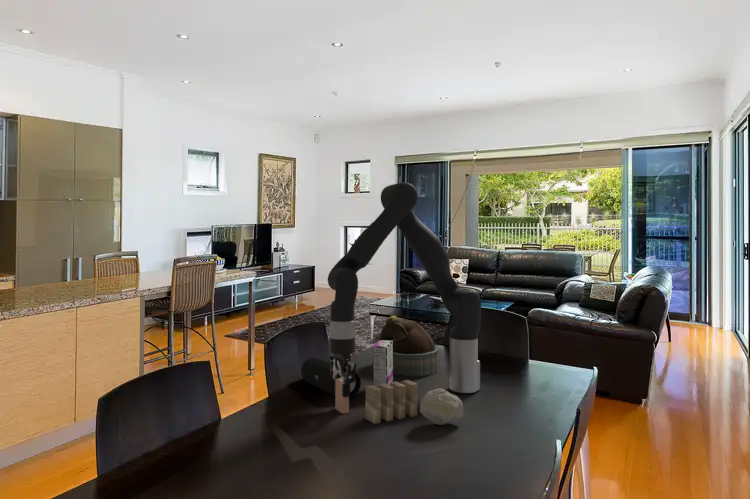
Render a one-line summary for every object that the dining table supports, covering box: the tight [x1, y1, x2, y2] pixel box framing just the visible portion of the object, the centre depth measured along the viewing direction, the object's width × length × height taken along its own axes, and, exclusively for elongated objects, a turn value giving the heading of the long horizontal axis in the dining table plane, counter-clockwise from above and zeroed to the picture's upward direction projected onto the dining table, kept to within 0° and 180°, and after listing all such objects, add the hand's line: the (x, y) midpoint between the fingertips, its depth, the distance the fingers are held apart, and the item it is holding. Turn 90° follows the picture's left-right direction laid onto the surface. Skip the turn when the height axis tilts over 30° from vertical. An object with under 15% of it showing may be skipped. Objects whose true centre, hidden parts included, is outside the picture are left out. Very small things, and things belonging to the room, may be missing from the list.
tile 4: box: [364, 384, 382, 425], centre depth 134 cm, size 2×5×9 cm, turn 29°
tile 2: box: [390, 381, 406, 420], centre depth 138 cm, size 2×5×9 cm, turn 29°
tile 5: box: [334, 378, 350, 415], centre depth 143 cm, size 2×5×9 cm, turn 29°
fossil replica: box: [419, 388, 465, 426], centre depth 130 cm, size 12×8×10 cm
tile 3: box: [378, 383, 394, 422], centre depth 136 cm, size 2×5×9 cm, turn 29°
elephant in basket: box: [379, 315, 441, 377], centre depth 187 cm, size 23×25×22 cm
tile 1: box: [401, 379, 418, 418], centre depth 140 cm, size 2×5×9 cm, turn 29°
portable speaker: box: [300, 355, 362, 399], centre depth 163 cm, size 26×10×10 cm, turn 36°
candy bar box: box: [372, 340, 394, 388], centre depth 161 cm, size 11×5×16 cm, turn 168°
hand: (342, 393), depth 143 cm, fingers closed on tile 5, 5 cm apart
